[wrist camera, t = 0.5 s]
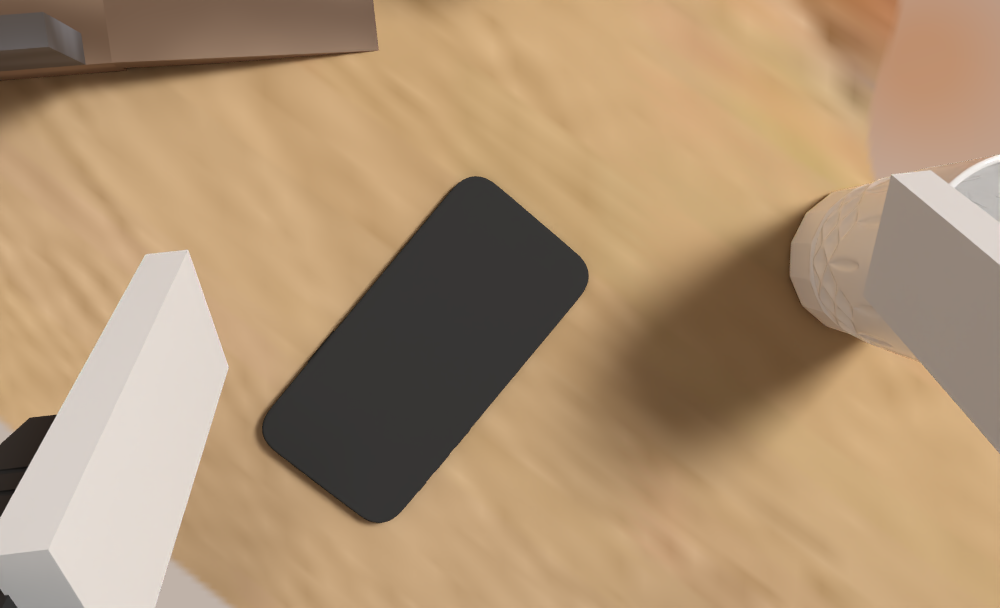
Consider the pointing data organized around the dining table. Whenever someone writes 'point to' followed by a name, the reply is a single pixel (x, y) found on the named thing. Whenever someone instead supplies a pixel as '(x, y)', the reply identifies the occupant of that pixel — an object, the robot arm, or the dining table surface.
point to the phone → (426, 350)
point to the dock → (173, 33)
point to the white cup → (866, 249)
